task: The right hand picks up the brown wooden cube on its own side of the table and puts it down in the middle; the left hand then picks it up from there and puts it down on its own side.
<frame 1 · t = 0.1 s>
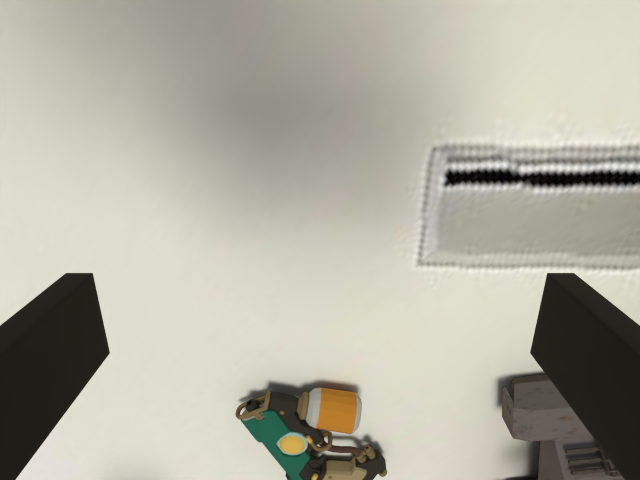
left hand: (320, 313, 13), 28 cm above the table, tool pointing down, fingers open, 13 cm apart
toy: (602, 431, 51), on the table
spray gun: (314, 431, 51), on the table
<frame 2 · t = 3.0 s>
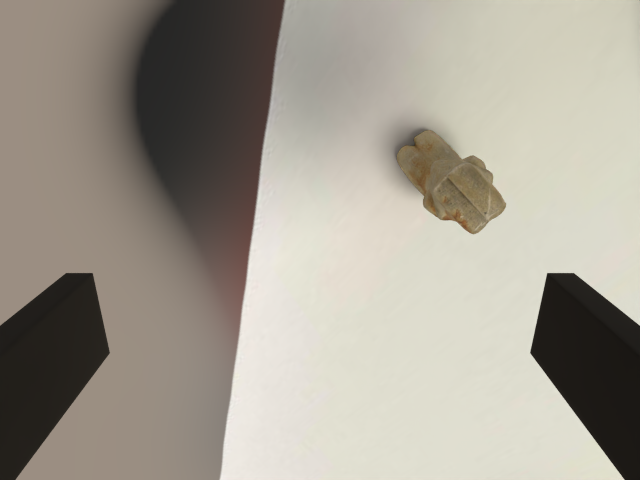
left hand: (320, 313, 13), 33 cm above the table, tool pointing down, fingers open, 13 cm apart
sculpture: (428, 164, 44), on the table
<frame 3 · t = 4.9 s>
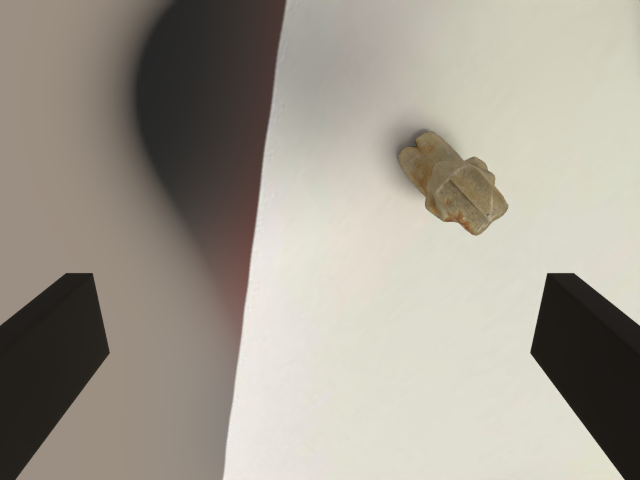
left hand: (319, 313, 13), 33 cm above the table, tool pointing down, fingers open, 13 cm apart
sculpture: (430, 165, 44), on the table
when the right hand's fingers open (4 cm above the table, at t = 7.0 s): brown wooden cube drops 2 cm, on the table.
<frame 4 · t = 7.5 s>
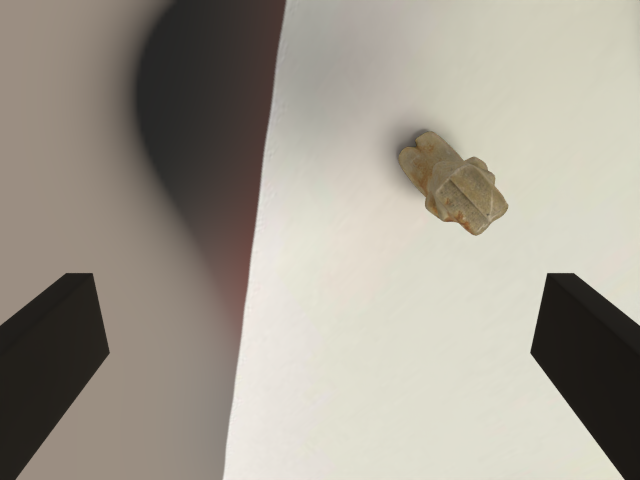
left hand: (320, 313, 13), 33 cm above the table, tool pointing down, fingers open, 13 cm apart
sculpture: (430, 165, 44), on the table
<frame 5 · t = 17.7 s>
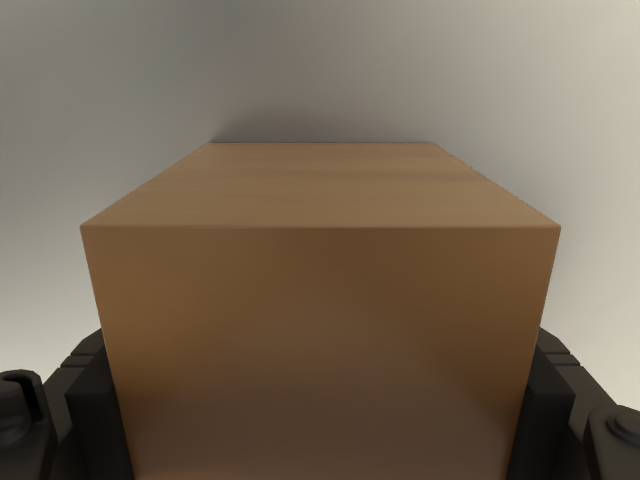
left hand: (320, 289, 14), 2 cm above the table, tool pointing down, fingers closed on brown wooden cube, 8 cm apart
brown wooden cube: (320, 262, 16), on the table, touching left hand
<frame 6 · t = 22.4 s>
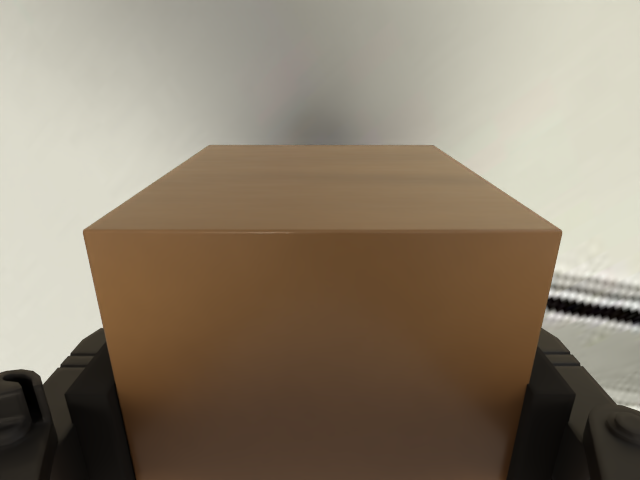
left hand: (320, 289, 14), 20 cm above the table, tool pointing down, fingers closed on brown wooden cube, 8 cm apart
brown wooden cube: (321, 264, 16), point 18 cm above the table, touching left hand
when the left hand's fingers open (4 cm above the table, at t = 27.6 s): brown wooden cube drops 2 cm, on the table.
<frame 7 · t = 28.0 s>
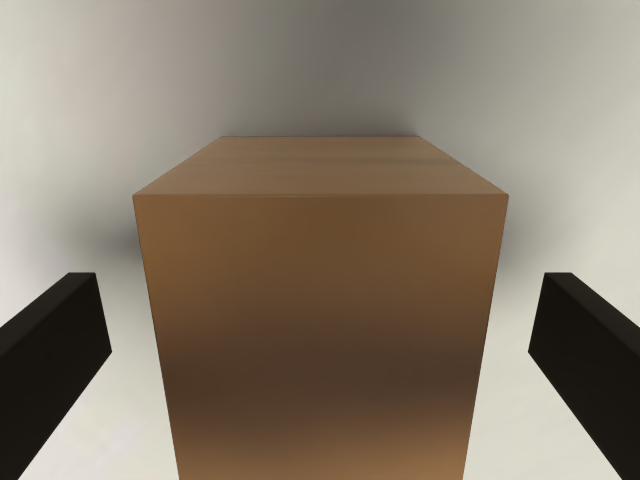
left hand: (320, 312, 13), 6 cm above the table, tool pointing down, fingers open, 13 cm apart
brown wooden cube: (320, 244, 18), on the table
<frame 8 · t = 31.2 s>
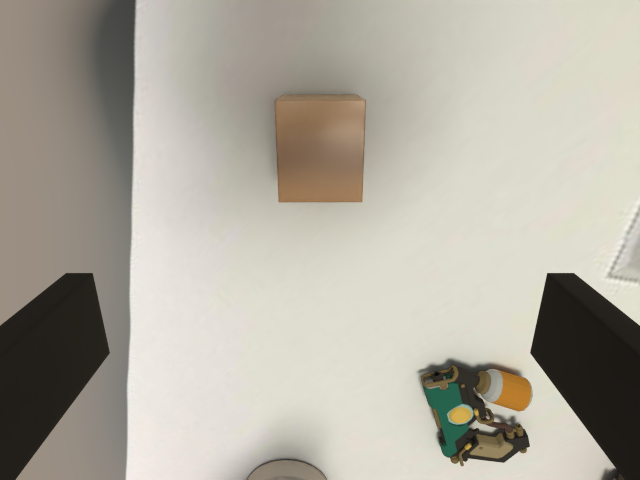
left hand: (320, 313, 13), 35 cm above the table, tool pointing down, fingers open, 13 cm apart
bust sculpture: (288, 470, 63), on the table
brown wooden cube: (320, 139, 45), on the table
spray gun: (471, 407, 58), on the table
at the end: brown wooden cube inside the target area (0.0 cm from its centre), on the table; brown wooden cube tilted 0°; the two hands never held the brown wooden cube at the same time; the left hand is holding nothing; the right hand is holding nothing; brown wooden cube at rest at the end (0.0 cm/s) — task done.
